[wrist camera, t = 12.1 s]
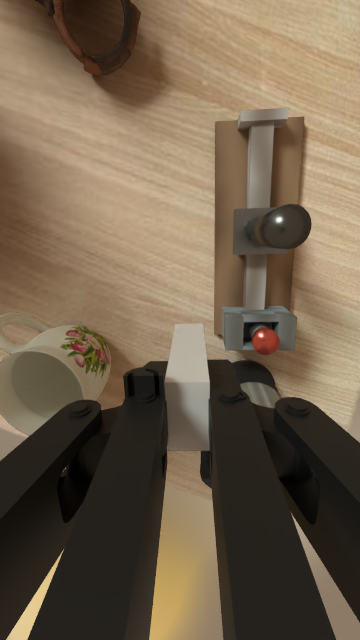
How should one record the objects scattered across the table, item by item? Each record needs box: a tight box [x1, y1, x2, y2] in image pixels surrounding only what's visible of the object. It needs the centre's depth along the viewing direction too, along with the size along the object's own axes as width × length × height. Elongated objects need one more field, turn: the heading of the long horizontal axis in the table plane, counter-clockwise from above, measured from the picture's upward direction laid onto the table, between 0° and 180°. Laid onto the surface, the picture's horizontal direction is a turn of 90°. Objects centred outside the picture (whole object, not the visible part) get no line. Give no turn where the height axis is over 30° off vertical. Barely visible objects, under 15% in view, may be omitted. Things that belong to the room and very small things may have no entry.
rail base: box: [214, 108, 304, 350], centre depth 34 cm, size 10×26×7 cm, turn 2°
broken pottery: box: [36, 0, 141, 76], centre depth 30 cm, size 12×10×8 cm
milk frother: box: [200, 361, 282, 489], centre depth 36 cm, size 14×16×15 cm
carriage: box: [233, 204, 311, 255], centre depth 29 cm, size 6×5×14 cm
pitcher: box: [0, 312, 111, 436], centre depth 36 cm, size 11×18×14 cm, turn 45°
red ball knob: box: [248, 322, 280, 355], centre depth 33 cm, size 3×3×5 cm
